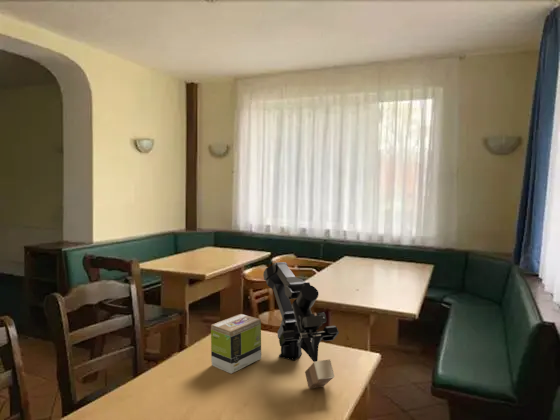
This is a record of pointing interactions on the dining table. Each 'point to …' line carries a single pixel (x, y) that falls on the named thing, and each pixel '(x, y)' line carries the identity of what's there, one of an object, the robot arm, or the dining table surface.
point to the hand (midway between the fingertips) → (315, 362)
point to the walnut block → (319, 373)
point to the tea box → (235, 342)
